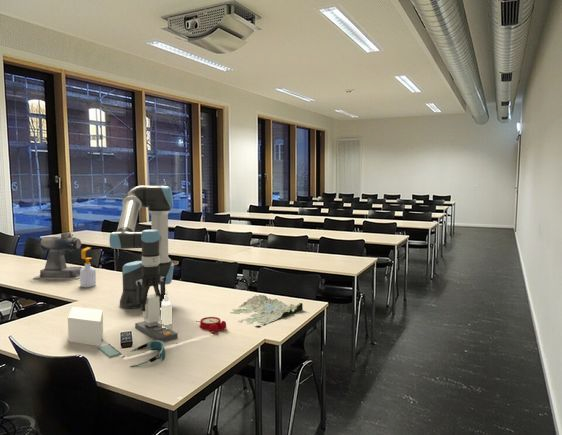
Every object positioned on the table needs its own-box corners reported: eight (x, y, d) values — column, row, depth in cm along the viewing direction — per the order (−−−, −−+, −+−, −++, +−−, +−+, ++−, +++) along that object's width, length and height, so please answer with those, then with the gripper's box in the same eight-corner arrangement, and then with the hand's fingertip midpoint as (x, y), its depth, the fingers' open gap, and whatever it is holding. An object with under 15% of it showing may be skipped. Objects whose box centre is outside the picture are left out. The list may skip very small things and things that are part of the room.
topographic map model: (258, 329, 193) (258, 318, 193) (214, 316, 211) (214, 306, 211) (302, 311, 221) (302, 302, 221) (260, 301, 239) (260, 292, 239)
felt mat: (98, 348, 167) (98, 346, 167) (127, 340, 175) (127, 339, 175) (109, 357, 158) (109, 356, 158) (140, 349, 166) (140, 347, 166)
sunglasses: (171, 359, 158) (169, 347, 157) (132, 375, 149) (129, 362, 148) (158, 347, 169) (156, 336, 168) (121, 361, 161) (118, 349, 160)
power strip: (129, 326, 193) (129, 318, 193) (146, 322, 198) (146, 314, 198) (160, 345, 171) (159, 336, 171) (177, 340, 176) (177, 331, 176)
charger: (143, 324, 186) (143, 296, 184) (154, 322, 189) (154, 294, 188) (148, 327, 182) (148, 298, 181) (159, 325, 185) (159, 296, 184)
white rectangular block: (82, 351, 164) (81, 325, 163) (56, 332, 184) (55, 310, 183) (118, 341, 175) (117, 317, 174) (89, 325, 195) (89, 303, 194)
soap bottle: (98, 285, 269) (98, 247, 267) (85, 288, 261) (84, 249, 259) (90, 283, 273) (89, 246, 271) (77, 286, 266) (76, 247, 264)
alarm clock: (210, 315, 200) (231, 314, 190) (212, 328, 199) (233, 328, 189) (192, 320, 192) (213, 320, 182) (194, 334, 191) (215, 334, 181)
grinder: (46, 273, 301) (44, 231, 299) (89, 273, 302) (88, 231, 299) (31, 279, 283) (30, 234, 280) (78, 279, 284) (77, 234, 281)
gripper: (134, 269, 174) (135, 323, 176) (173, 263, 186) (174, 314, 189) (126, 266, 180) (127, 319, 182) (165, 261, 192) (166, 310, 194)
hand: (151, 316), depth 185 cm, fingers closed on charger, 5 cm apart
